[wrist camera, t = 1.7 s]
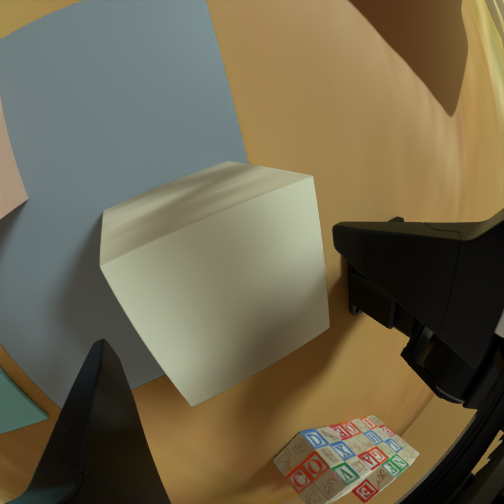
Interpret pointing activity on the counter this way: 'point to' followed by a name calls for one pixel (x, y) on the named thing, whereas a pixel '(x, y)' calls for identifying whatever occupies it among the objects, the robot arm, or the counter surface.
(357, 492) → the stack of blocks
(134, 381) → the card
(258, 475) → the counter surface
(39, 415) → the teal pad
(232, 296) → the maple block
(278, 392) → the counter surface
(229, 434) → the counter surface
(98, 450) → the robot arm
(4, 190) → the terracotta block
